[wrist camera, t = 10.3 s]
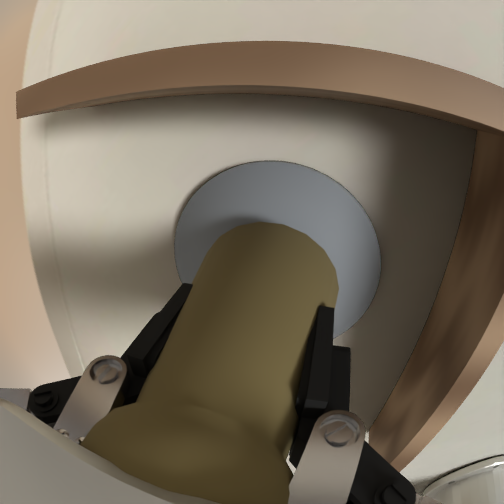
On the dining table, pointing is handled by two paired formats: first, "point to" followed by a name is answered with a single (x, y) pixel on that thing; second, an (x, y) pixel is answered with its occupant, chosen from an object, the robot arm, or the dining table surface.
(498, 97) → the wooden corner wall
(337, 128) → the dining table surface
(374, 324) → the dining table surface
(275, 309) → the cork
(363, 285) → the pad
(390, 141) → the dining table surface
